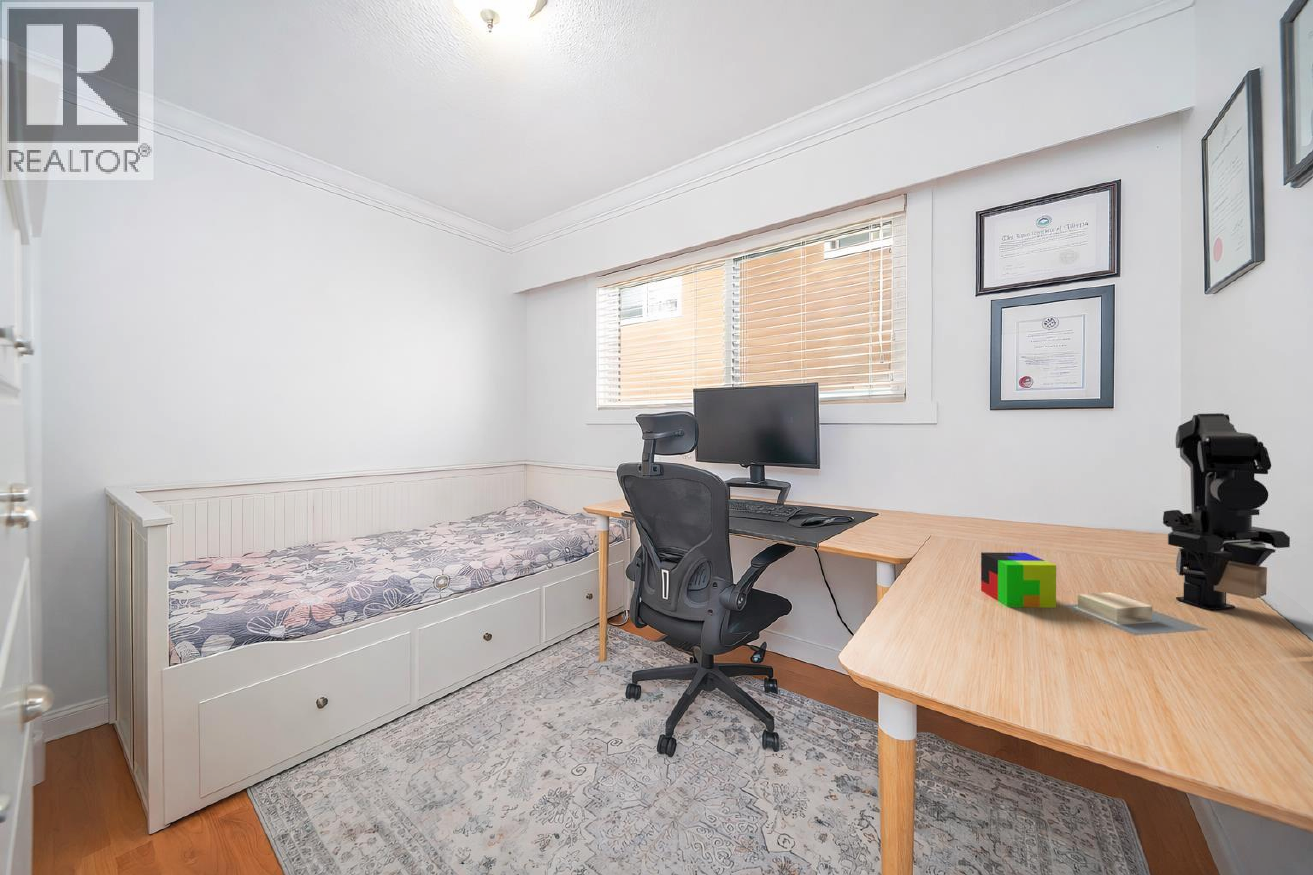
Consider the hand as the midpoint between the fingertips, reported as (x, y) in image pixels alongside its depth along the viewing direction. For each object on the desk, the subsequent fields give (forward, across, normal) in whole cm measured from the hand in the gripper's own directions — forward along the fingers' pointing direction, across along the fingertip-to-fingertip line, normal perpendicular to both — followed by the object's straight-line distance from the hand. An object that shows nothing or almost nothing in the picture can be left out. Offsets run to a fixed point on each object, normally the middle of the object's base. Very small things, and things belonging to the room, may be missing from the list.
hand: (1226, 583), depth 92 cm
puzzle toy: (+10, +23, -22) cm, 33 cm away
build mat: (+10, +9, -9) cm, 16 cm away
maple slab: (+9, +11, -11) cm, 18 cm away
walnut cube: (+1, 0, +2) cm, 2 cm away
